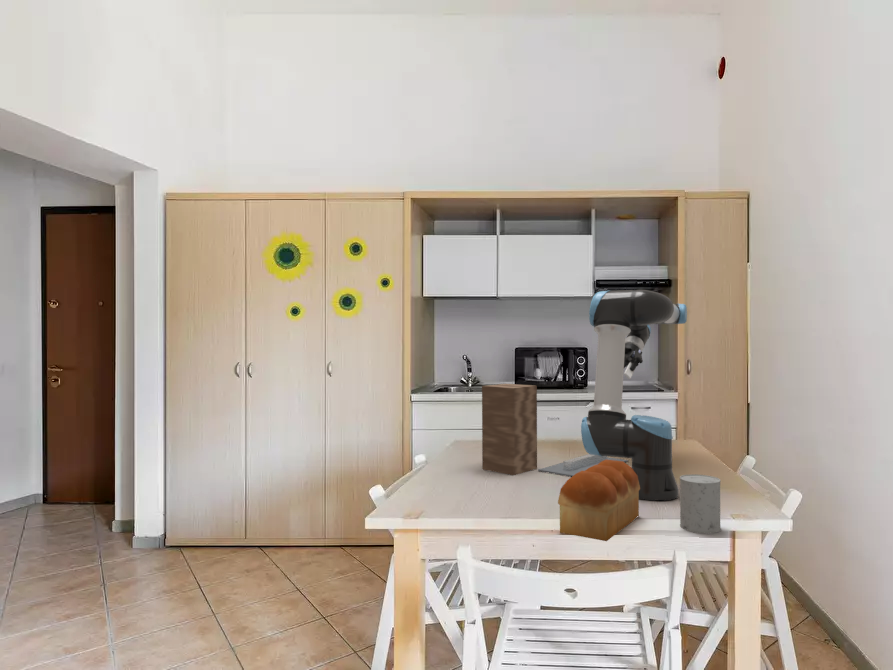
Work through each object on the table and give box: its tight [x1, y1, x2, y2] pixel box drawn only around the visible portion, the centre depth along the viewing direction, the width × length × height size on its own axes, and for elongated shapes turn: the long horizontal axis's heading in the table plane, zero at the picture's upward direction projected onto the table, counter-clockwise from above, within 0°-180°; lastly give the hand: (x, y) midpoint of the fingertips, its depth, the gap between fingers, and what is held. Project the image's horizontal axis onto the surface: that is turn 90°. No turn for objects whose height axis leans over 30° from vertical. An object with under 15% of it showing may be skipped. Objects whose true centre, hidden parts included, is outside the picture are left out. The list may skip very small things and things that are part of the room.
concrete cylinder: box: [679, 473, 722, 535], centre depth 159 cm, size 10×10×12 cm
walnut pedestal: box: [481, 383, 538, 476], centre depth 228 cm, size 14×14×30 cm
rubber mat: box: [537, 456, 629, 477], centre depth 232 cm, size 36×16×1 cm, turn 137°
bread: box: [557, 460, 640, 542], centre depth 162 cm, size 25×12×15 cm, turn 146°
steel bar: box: [562, 453, 608, 471], centre depth 232 cm, size 26×3×3 cm, turn 138°
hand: (613, 384), depth 228 cm, fingers open, 13 cm apart
